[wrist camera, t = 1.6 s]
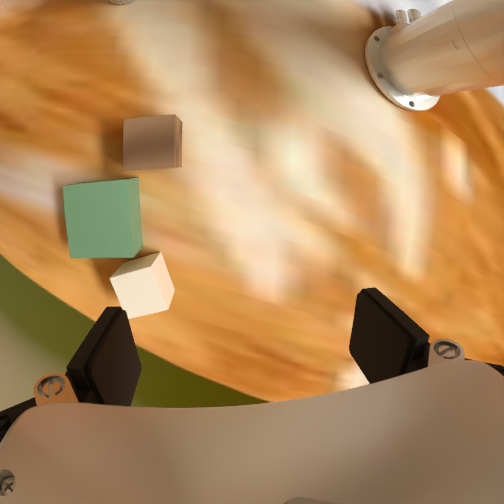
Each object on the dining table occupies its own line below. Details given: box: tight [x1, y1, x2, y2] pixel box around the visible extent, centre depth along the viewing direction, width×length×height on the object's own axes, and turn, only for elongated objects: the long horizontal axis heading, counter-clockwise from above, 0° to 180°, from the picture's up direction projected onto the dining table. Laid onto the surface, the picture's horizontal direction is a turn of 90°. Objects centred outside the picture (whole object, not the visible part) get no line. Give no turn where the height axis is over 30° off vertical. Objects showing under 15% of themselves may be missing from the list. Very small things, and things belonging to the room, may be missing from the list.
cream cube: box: [110, 252, 175, 319], centre depth 30 cm, size 5×5×5 cm
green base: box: [63, 177, 143, 258], centre depth 28 cm, size 8×8×4 cm
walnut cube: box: [123, 115, 182, 171], centre depth 26 cm, size 5×5×5 cm
